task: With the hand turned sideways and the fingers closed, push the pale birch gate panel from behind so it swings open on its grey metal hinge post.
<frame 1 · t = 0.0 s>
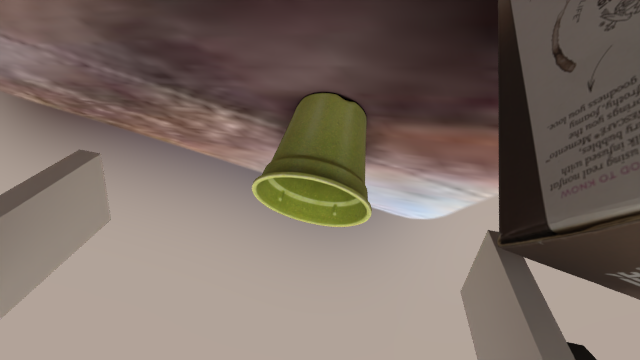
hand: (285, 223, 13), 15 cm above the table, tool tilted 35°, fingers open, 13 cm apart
plant pot: (331, 112, 33), on the table
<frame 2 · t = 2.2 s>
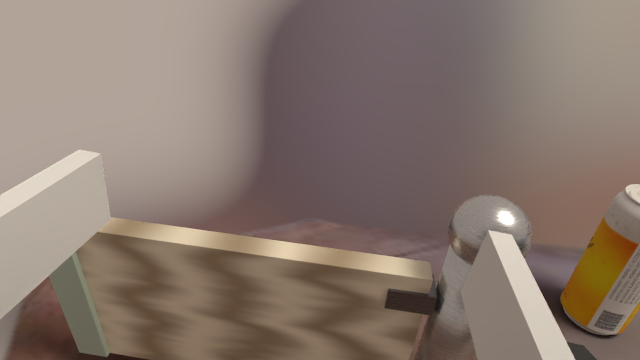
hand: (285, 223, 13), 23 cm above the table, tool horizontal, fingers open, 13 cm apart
orange and white cylinder: (588, 316, 41), on the table
gate panel: (236, 308, 28), point 9 cm above the table, hinge at 0.0°
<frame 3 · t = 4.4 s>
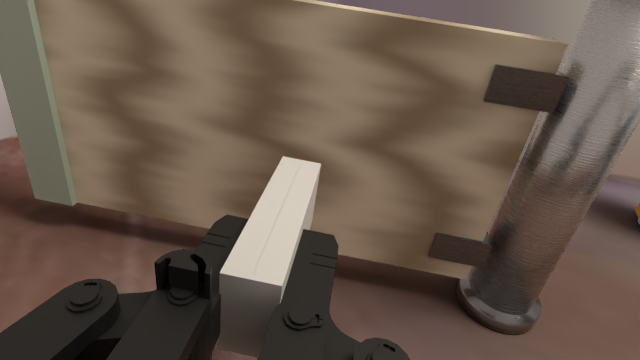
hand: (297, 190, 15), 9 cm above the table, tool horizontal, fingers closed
gate post: (494, 302, 23), on the table
gate panel: (260, 124, 20), point 9 cm above the table, hinge at 0.0°
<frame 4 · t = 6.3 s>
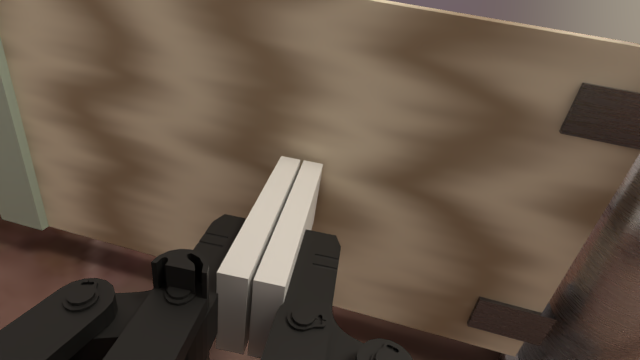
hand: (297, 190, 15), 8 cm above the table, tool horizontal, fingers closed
gate panel: (259, 148, 16), point 9 cm above the table, hinge at 4.4°, touching gripper
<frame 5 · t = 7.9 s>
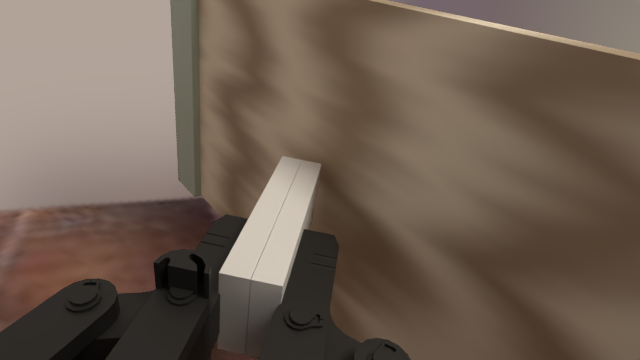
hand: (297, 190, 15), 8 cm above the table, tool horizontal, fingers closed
gate panel: (347, 174, 15), point 9 cm above the table, hinge at 39.9°, touching gripper
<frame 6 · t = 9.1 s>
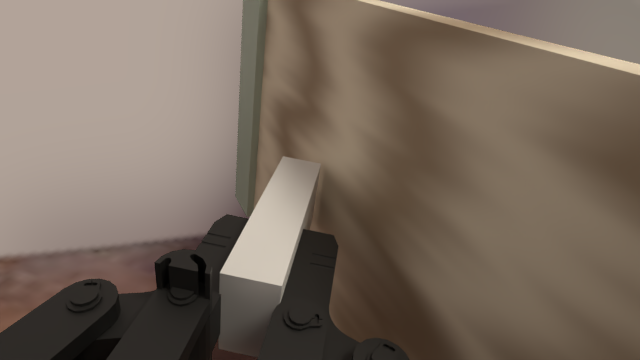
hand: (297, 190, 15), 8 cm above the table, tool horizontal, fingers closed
gate panel: (397, 228, 12), point 9 cm above the table, hinge at 54.2°
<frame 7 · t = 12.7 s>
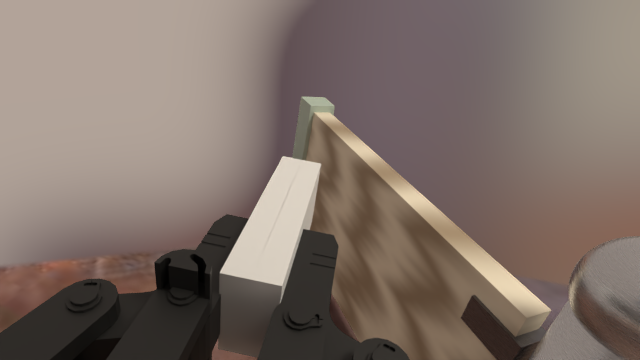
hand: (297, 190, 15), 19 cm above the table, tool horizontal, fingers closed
gate panel: (364, 240, 29), point 9 cm above the table, hinge at 58.3°
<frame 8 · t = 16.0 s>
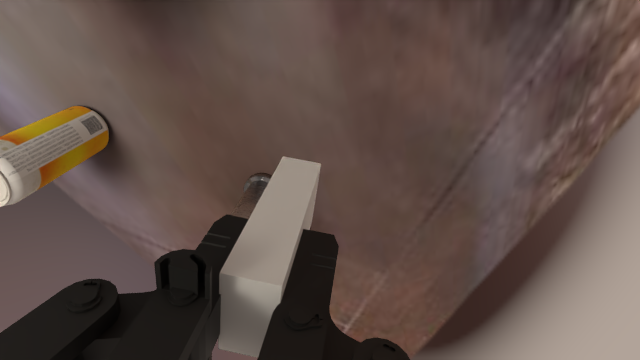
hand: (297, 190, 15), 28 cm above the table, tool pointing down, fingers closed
gate post: (263, 188, 49), on the table
orange and white cylinder: (90, 126, 48), on the table
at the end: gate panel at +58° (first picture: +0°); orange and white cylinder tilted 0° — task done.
